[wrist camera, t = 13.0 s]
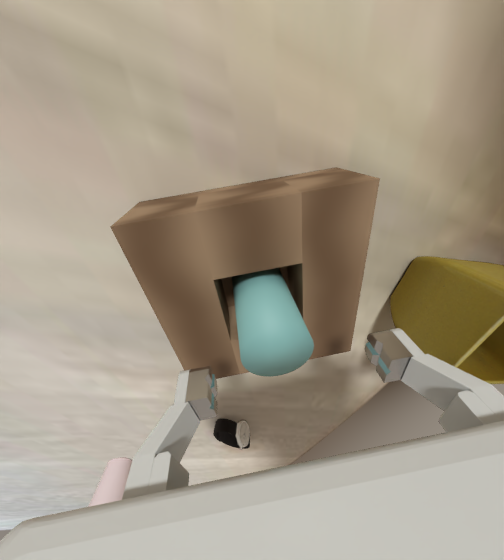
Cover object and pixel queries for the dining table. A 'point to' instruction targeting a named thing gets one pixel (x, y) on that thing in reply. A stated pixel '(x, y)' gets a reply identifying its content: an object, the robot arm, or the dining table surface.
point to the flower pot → (454, 313)
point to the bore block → (252, 258)
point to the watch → (232, 433)
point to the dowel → (269, 324)
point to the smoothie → (112, 482)
